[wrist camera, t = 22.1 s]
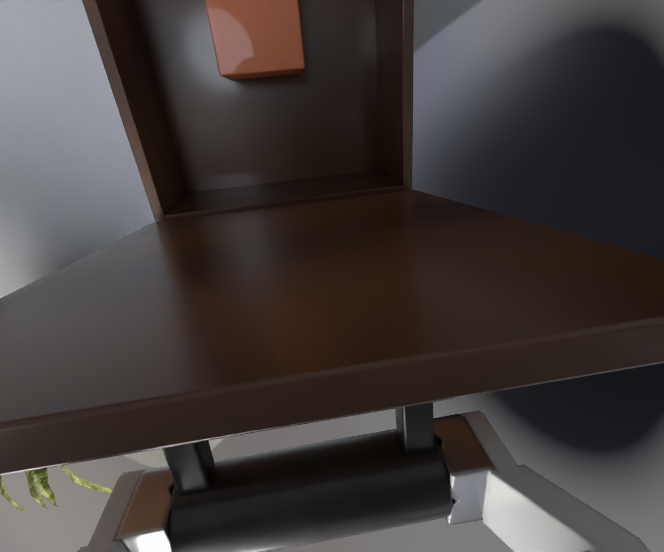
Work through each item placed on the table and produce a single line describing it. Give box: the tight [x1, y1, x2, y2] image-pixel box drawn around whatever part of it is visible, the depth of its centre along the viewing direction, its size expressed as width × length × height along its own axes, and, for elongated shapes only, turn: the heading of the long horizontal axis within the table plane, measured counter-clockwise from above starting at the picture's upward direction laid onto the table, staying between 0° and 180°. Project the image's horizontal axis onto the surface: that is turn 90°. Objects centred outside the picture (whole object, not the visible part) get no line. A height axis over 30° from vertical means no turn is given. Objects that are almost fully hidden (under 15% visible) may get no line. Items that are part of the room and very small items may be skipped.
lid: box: [0, 190, 664, 552], centre depth 14 cm, size 17×15×6 cm
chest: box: [82, 0, 414, 222], centre depth 20 cm, size 16×15×6 cm
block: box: [205, 0, 305, 80], centre depth 20 cm, size 4×4×4 cm
